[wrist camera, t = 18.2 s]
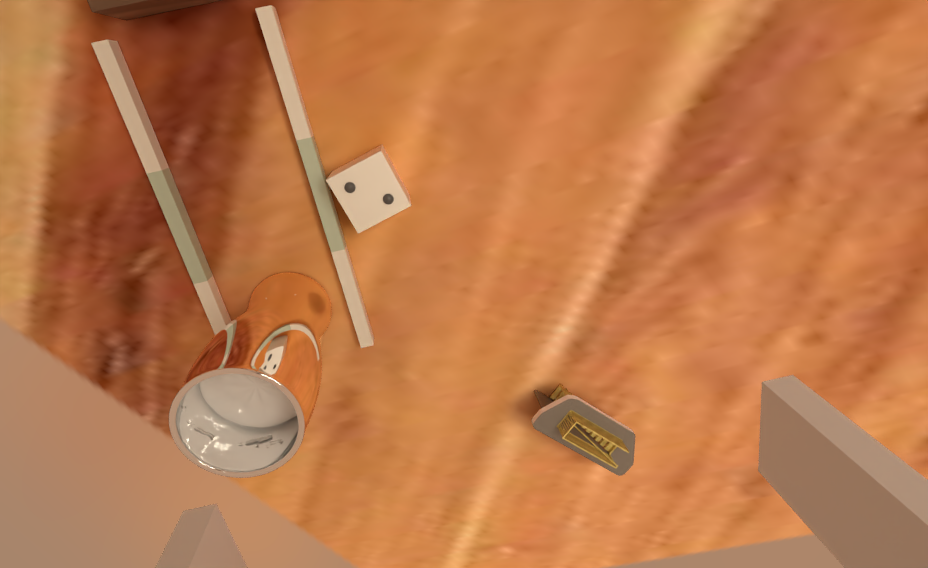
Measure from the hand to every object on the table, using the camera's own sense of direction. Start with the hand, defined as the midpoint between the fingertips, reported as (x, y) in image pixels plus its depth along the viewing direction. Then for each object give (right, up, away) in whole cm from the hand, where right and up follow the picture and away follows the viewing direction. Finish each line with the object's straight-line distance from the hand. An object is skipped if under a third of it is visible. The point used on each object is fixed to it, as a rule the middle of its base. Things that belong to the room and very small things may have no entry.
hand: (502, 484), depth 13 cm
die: (-8, +12, +25) cm, 29 cm away
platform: (+9, -6, +35) cm, 36 cm away
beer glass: (-14, +3, +28) cm, 32 cm away
